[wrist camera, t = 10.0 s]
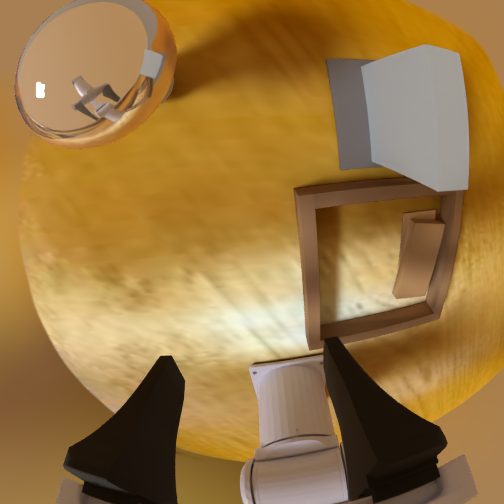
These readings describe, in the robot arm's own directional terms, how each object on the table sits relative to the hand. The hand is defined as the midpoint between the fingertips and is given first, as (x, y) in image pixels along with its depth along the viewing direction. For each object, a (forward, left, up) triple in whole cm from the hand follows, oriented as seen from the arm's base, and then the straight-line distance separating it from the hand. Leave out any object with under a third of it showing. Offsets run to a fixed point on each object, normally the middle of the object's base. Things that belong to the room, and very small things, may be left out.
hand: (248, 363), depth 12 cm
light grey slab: (+10, -11, -10) cm, 18 cm away
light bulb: (+14, +4, -10) cm, 18 cm away
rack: (-2, -11, -10) cm, 15 cm away
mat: (+10, -11, -10) cm, 18 cm away
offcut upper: (-2, -15, -10) cm, 18 cm away
